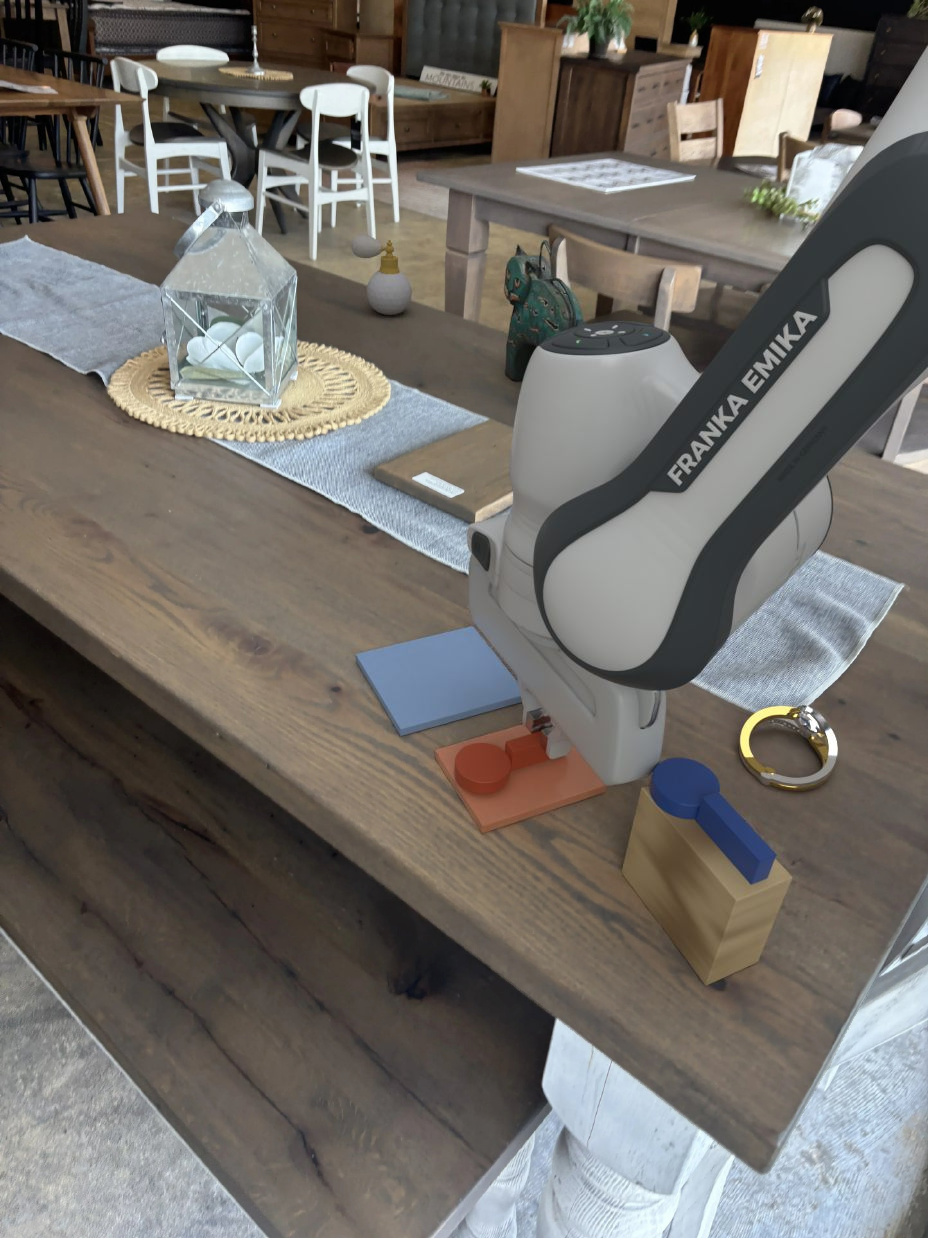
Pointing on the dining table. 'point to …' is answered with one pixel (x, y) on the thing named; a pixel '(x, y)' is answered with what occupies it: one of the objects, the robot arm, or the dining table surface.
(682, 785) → the blue spoon
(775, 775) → the ring
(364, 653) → the blue tile
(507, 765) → the terracotta spoon
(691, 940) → the spoon stand
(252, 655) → the dining table surface
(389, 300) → the perfume bottle
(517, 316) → the ceramic cat
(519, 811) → the terracotta tile
